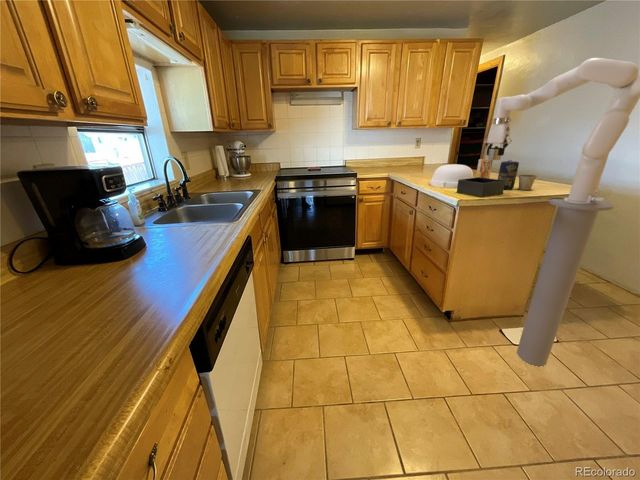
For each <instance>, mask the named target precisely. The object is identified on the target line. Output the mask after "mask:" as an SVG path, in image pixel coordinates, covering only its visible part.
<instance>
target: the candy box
mask: <svg viewBox="0 0 640 480" xmlns="http://www.w3.org/2000/svg"><path fill="white" fill-rule="evenodd" d="M493 161H494V160H488V158H480V159H479V158H478V163H477V167H476V175H475V178H477V177H481V178H489V179H490V176H491V173H492V167H493Z"/></svg>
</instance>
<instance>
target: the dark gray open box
mask: <svg viewBox="0 0 640 480" xmlns="http://www.w3.org/2000/svg"><path fill="white" fill-rule="evenodd" d="M504 185H505V180H498V178H490V177H489V178H481V177H477V178H476V177H473V178H469V179H461V180H458V186H457V188H456V193H458V194H462V195H468V196H473V197H476V198H477V197H478V198H486V197H487V198H488V197H492V196H493V197H494V196H498V195H503V194H504V190H505V189H504Z"/></svg>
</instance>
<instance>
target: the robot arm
mask: <svg viewBox="0 0 640 480" xmlns="http://www.w3.org/2000/svg"><path fill="white" fill-rule="evenodd" d="M590 82H592V83H597V84H598V83H599V84H604V85H608V86H609V87H611V88H613V90H614V93H613V96H612V98H611V100H610V101H609V103H608V105H607V106H606V109H605V110H604V112H603V113H602V115H601V116H600V117H599V118H598V120H597V122H596V124H595V126H594V128H593V129H592V130H591V133H590V135H589V136H588V138H587V140H586V141H585V142H584V144H583V146H582V149H581V154H580V157H579V161H578V164H577V167H576V170H575V173H574V177H573V180H572V184H571V187H570V190H569V194H568V196H567V197H568V198H565V197H564V198H563V199H564V201H565V202H568V203H573V204H582V205H594V204H597V202H604V201H606V198H605V197H601V196H600V197H599V194H597V191H598V188H599V185H600V182H601V179H602V176H603V174H604V170H605V168H606V164H607V161H608V159H609V154H610V153H611V151H612V150H613V149H614V147H615V145H616V144H617V142H618V141H619V139H620V138H621V137H622V135H623V133H624V131H625V129H626V128H627V127H628V124H629V122H630V116H631V114H632V112H633V111H634V109H635V107H636V105H637V104H638V102H639V100H640V72H639V66H638V65H637V63H635V62H632V61H628V60H627V61H626V60H618V59H611V58H605V57H591V58H588V59H586V60H584V61H582V62H581V63H580V64H579V65H578V66H576V67H574V68H572V69H570V70H567V71H566V72H564V73H562V74H560V75H557V76H555V77H554V78H552V79H550V80H549V81H547V83H545V84H544V85H543V86H541V87H539V88H536V89H535V90H533V91H531V92H528V93H527V94H517V95H513V96H503V97H499V98H497V99H496V103H495V109H494V115H493V120H492V124H491V126H490V128H489V131H488V136H487V138H486V139H484V140H483V143H484V144H485V146H486V153H485V154H486V156H488V154H489V148H493V145H495V144H499V145H500V146H499V147H501V148H500V150H499V156H501V157H502V156H504V154H505V150H506V148H507V147H508V146H509V145H510V144H511V143H512V142H513V141H512V139H511V138H510V135H511V124H510V122H511V121H512V119H511V118H510V117H511V114H512V111H516V112H517V111H519V112H524V111H527V110H529V109H531V108H533V107H536V106H538V105H540V104H543V103H544V102H548V101H549V100H551V99H553V98H556V97H558V96H560V95H563V94H565V93H567V92H569V91H571V90H574V89H577V88H578V87H581V86H583V85H585V84H587V83H590Z"/></svg>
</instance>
